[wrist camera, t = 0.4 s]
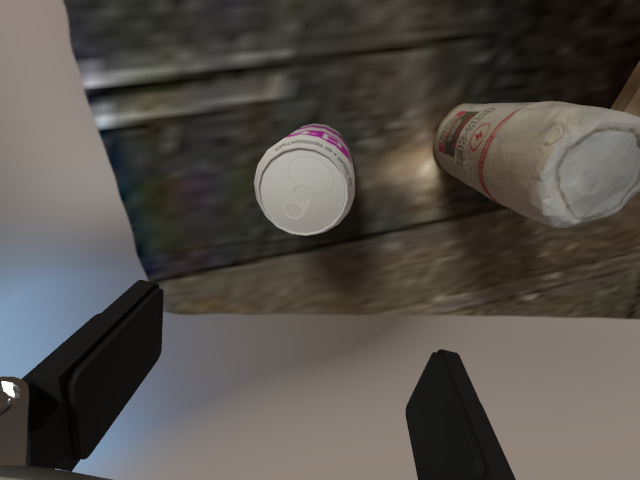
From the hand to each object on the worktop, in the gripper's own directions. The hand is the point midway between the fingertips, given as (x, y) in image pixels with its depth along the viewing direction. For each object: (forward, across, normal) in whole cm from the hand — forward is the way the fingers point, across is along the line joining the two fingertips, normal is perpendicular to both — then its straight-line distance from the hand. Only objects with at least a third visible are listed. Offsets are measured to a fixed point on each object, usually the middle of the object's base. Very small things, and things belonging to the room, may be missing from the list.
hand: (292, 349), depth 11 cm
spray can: (+31, -15, -7) cm, 35 cm away
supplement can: (+31, +2, -1) cm, 31 cm away
